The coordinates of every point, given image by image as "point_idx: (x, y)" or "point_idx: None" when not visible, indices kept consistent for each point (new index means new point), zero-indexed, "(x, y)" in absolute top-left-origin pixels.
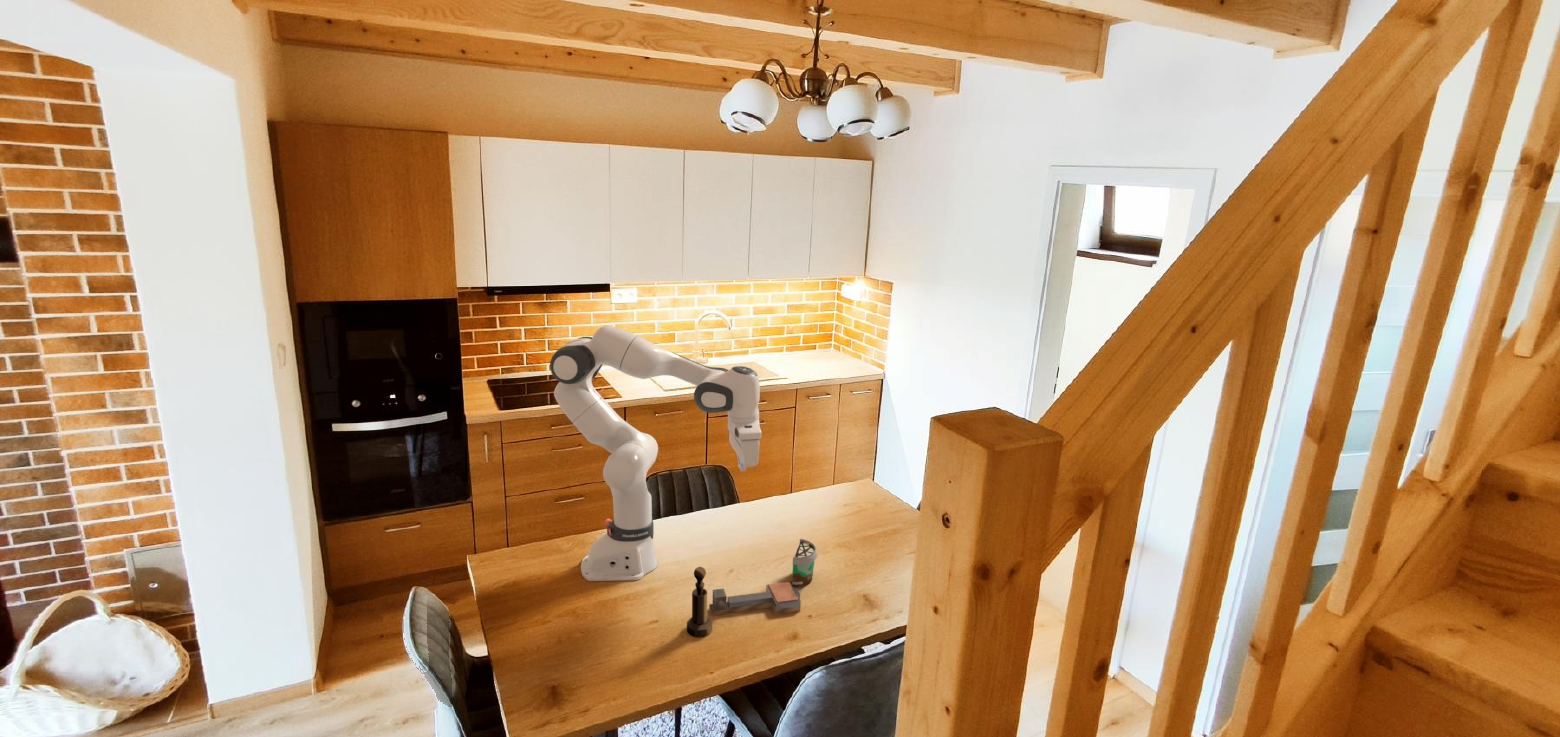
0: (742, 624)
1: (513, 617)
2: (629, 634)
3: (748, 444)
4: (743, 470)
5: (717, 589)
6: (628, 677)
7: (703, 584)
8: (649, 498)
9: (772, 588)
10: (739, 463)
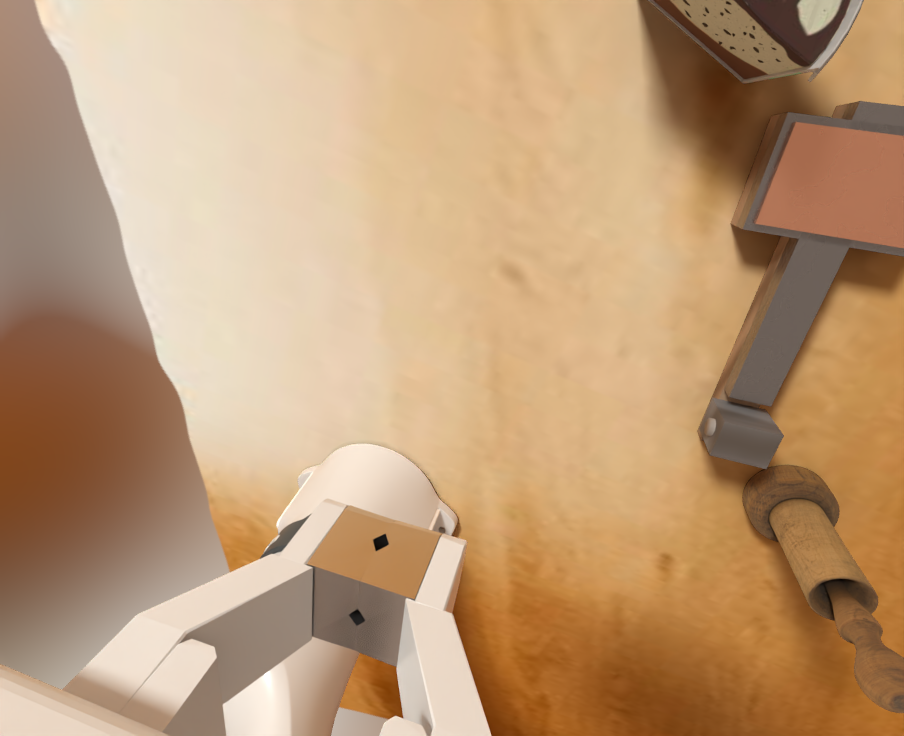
0: (849, 381)
1: (500, 727)
2: (684, 621)
3: None
4: (459, 574)
5: (717, 441)
6: (852, 686)
7: (879, 627)
8: (292, 671)
9: (797, 222)
10: (338, 642)
